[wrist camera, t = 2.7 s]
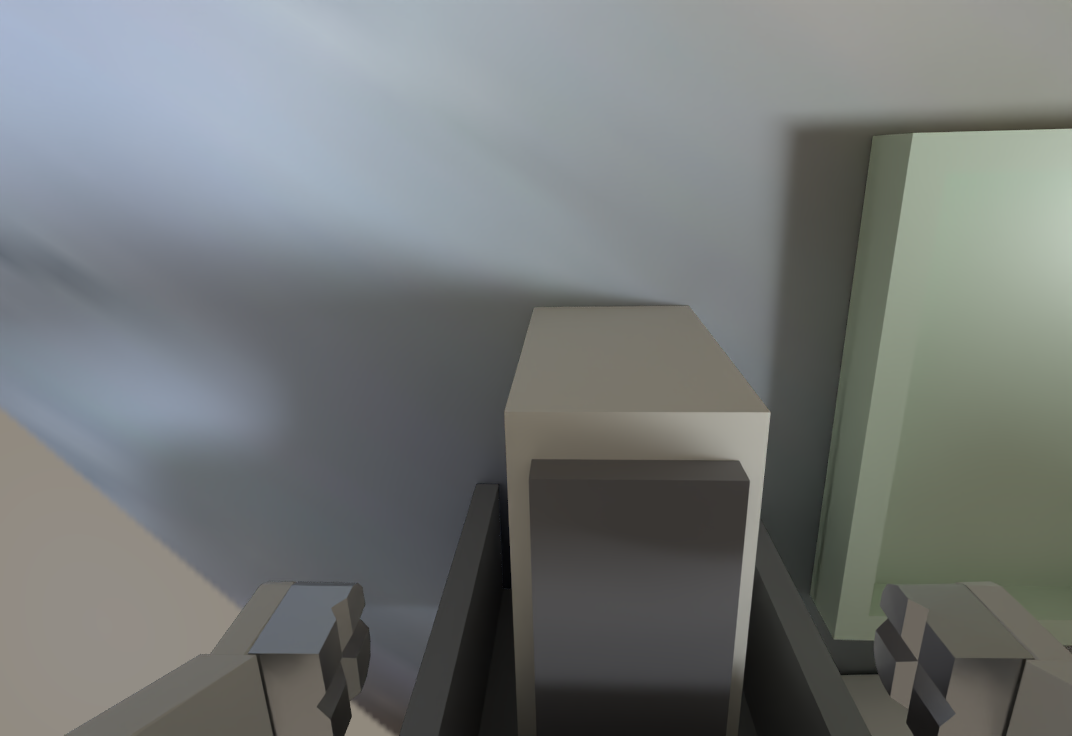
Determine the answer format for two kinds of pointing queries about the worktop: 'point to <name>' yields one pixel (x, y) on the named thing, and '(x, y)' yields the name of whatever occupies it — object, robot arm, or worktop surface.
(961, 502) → the tray
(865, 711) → the milk carton
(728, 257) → the worktop surface
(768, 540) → the open-top grey box
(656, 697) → the cream box grey panel
